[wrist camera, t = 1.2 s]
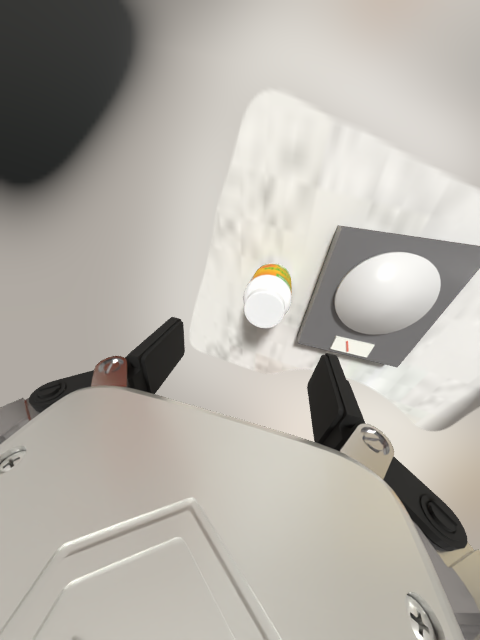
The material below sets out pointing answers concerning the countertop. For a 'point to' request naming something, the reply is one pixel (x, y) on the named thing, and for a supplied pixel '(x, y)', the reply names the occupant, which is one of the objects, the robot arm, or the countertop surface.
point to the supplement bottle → (268, 296)
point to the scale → (383, 292)
